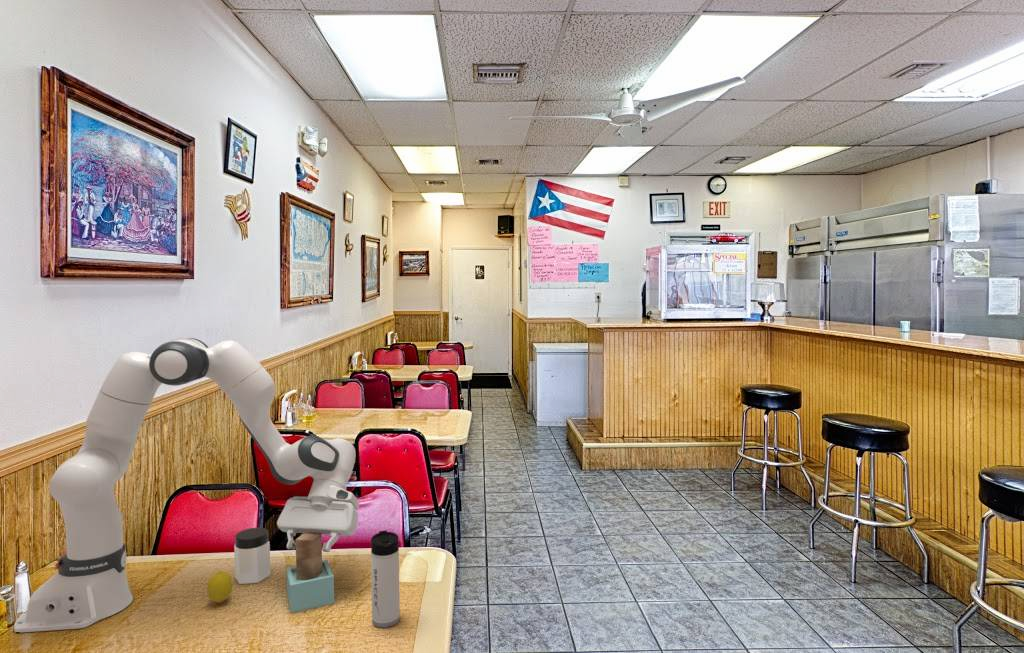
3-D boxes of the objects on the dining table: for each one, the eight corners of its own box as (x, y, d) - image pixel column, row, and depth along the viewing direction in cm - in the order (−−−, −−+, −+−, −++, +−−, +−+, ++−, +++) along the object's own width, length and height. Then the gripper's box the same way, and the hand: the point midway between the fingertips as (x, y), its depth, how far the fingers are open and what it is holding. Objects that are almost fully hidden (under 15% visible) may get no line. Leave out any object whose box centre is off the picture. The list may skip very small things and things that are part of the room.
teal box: (290, 614, 136) (290, 585, 135) (286, 595, 145) (286, 568, 144) (334, 604, 140) (333, 576, 140) (327, 586, 149) (327, 559, 149)
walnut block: (296, 579, 140) (295, 539, 140) (305, 571, 145) (304, 532, 144) (313, 580, 140) (312, 540, 139) (322, 572, 144) (321, 533, 144)
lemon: (205, 610, 137) (204, 577, 137) (210, 598, 142) (209, 567, 142) (230, 606, 139) (229, 574, 138) (234, 595, 144) (233, 564, 144)
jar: (273, 578, 153) (272, 534, 152) (241, 588, 148) (240, 542, 147) (263, 566, 160) (262, 524, 159) (232, 575, 155) (231, 532, 154)
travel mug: (397, 610, 137) (395, 528, 136) (401, 624, 130) (400, 539, 130) (370, 615, 134) (369, 532, 133) (374, 630, 128) (372, 543, 127)
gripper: (284, 490, 150) (263, 542, 140) (358, 493, 147) (341, 547, 137) (293, 501, 154) (274, 552, 145) (365, 504, 151) (350, 557, 142)
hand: (307, 549), depth 141 cm, fingers open, 8 cm apart
